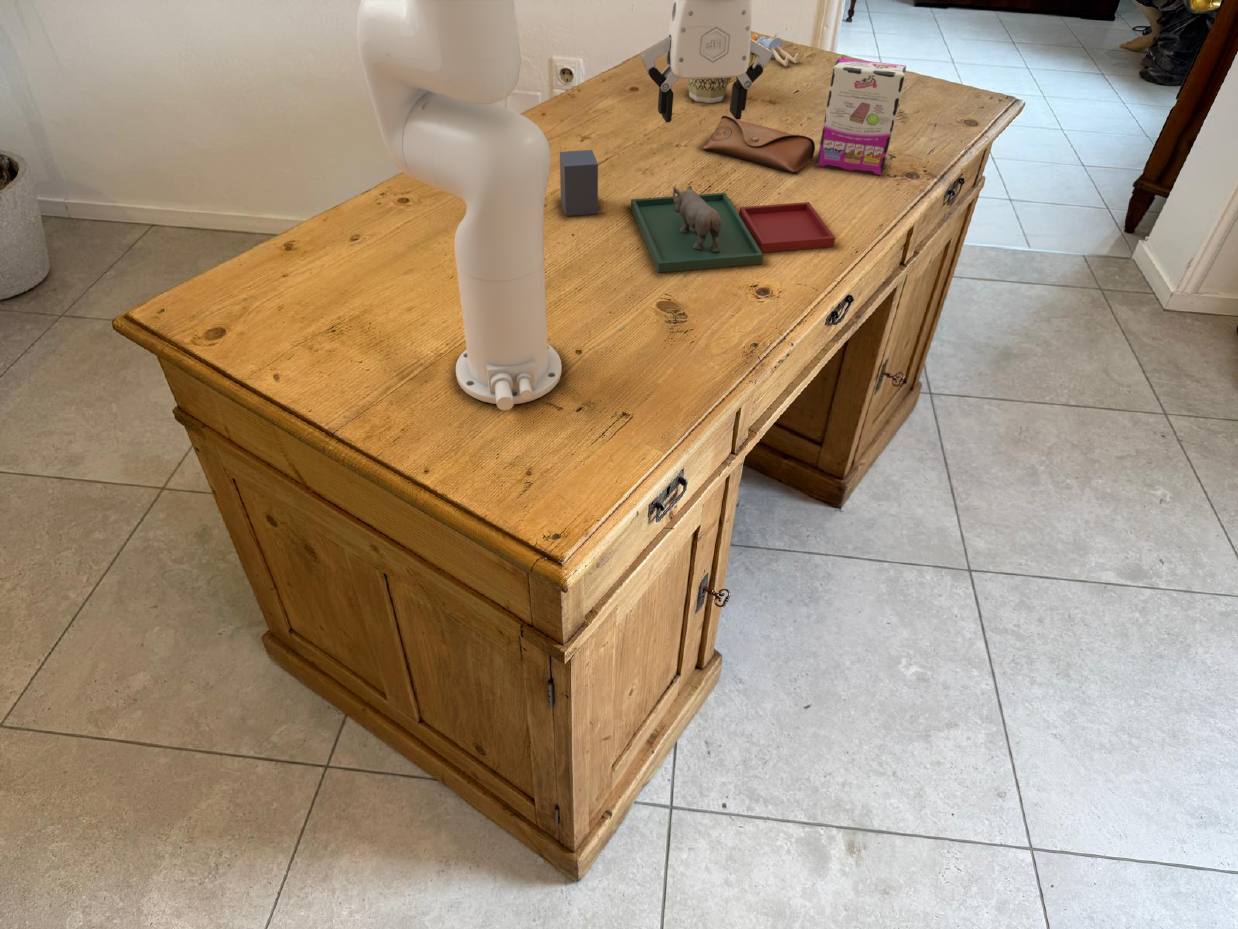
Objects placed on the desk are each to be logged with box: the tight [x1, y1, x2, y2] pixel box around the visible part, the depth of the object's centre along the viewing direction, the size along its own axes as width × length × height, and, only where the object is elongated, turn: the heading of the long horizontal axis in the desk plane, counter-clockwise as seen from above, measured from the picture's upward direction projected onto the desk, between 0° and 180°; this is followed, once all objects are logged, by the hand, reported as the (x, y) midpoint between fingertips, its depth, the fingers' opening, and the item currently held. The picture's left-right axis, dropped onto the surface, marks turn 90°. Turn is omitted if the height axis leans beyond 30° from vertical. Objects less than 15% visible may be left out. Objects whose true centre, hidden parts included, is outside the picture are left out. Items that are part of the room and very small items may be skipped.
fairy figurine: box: [750, 33, 800, 67], centre depth 186 cm, size 12×5×12 cm
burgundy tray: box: [738, 201, 836, 254], centre depth 132 cm, size 11×11×2 cm
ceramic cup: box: [687, 52, 754, 104], centre depth 166 cm, size 13×10×10 cm
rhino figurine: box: [672, 185, 722, 252], centre depth 129 cm, size 4×14×6 cm, turn 21°
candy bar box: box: [816, 57, 907, 176], centre depth 144 cm, size 11×5×16 cm, turn 73°
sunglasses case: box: [702, 115, 816, 173], centre depth 151 cm, size 18×7×7 cm, turn 60°
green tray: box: [630, 192, 764, 273], centre depth 130 cm, size 19×15×2 cm
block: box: [559, 149, 599, 217], centre depth 134 cm, size 5×5×8 cm
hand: (700, 116), depth 119 cm, fingers open, 9 cm apart
